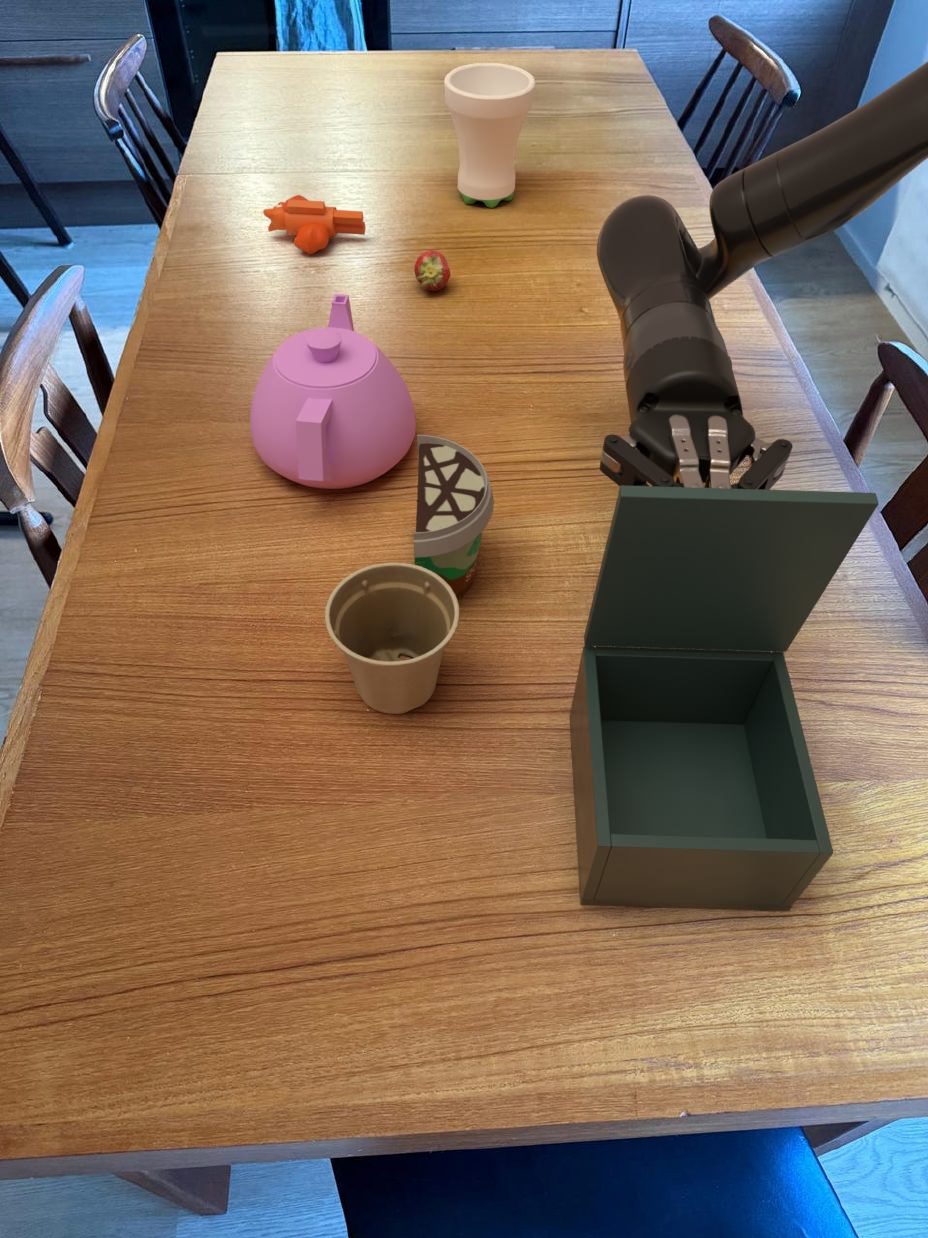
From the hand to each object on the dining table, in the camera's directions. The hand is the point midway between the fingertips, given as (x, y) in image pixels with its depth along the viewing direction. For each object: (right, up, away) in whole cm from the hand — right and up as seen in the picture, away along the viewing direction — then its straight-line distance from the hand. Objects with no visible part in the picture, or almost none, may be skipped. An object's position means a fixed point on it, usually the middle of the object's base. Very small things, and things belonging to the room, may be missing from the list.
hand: (714, 552), depth 54 cm
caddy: (-1, -17, +9) cm, 20 cm away
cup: (-12, +53, +66) cm, 86 cm away
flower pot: (-20, -9, +16) cm, 27 cm away
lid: (0, -2, 0) cm, 2 cm away
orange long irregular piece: (-34, +42, +58) cm, 79 cm away
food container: (-16, 0, +23) cm, 28 cm away
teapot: (-28, +13, +34) cm, 45 cm away
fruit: (-19, +35, +52) cm, 65 cm away
